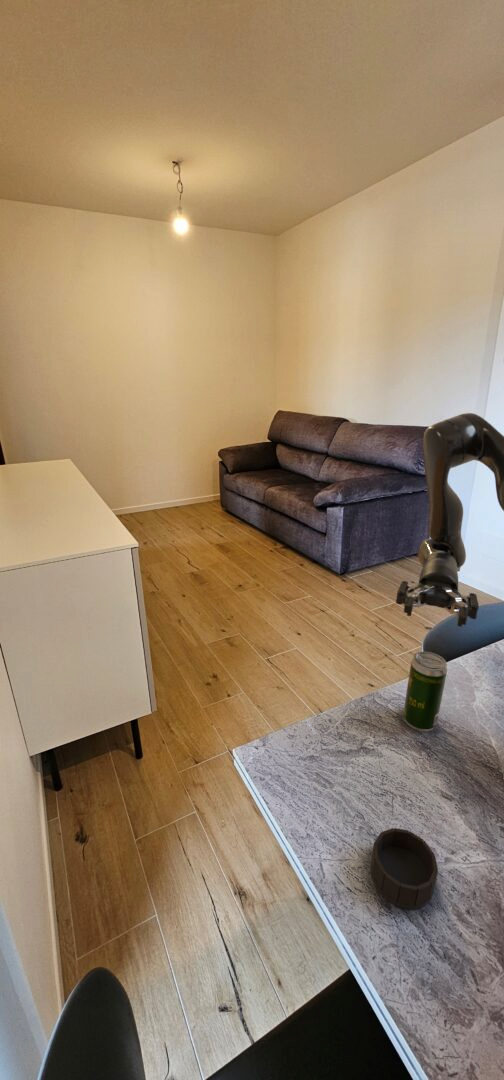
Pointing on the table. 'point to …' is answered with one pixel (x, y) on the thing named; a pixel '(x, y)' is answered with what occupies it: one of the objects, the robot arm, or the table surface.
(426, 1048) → the table surface
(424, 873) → the coaster dock
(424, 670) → the beer can
